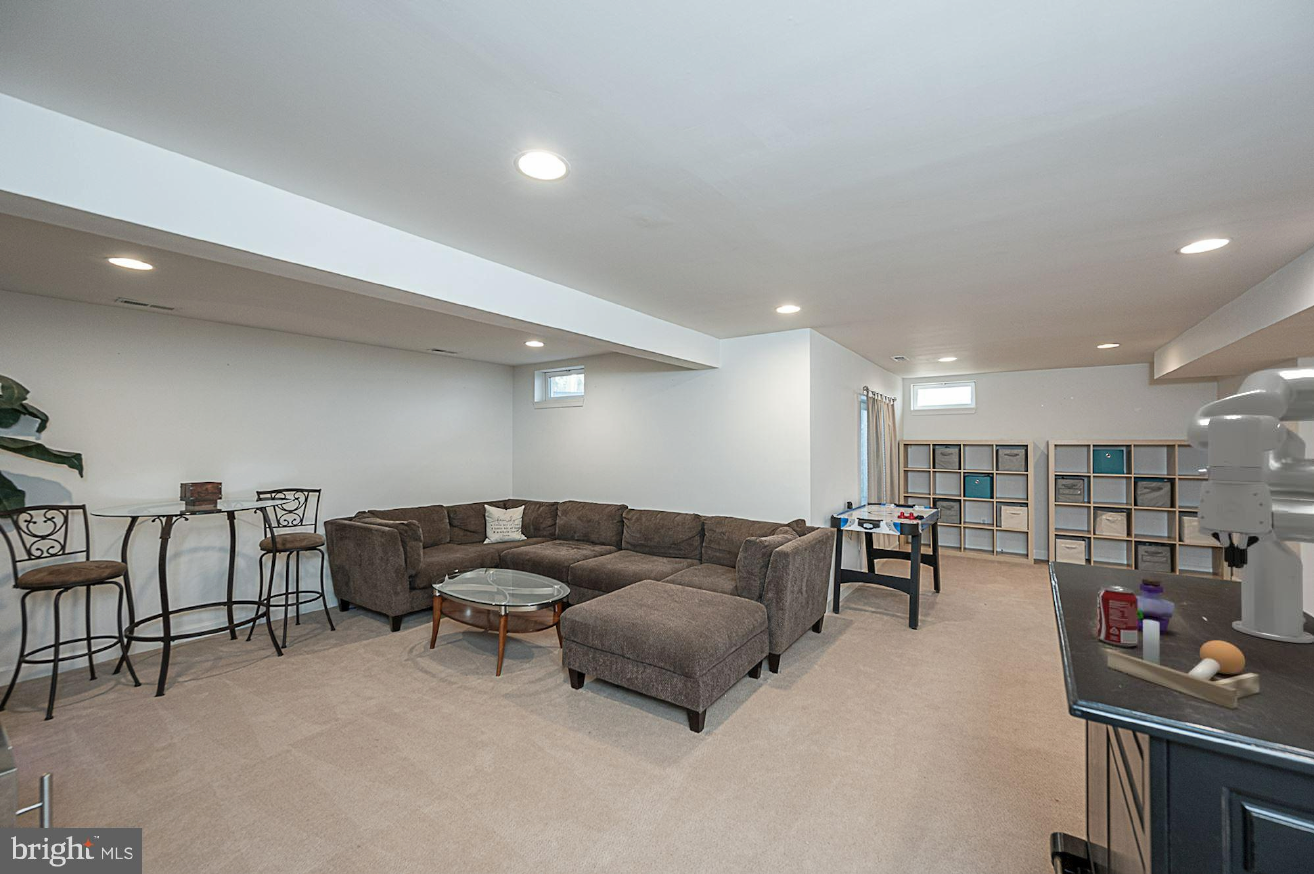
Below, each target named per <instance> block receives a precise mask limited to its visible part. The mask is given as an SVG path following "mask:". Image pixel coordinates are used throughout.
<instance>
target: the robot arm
mask: <svg viewBox="0 0 1314 874" xmlns="http://www.w3.org/2000/svg"><path fill="white" fill-rule="evenodd" d="M1283 422H1314V365H1309V366H1297V367H1284V368H1270V369H1269V368H1268V369H1265V370H1258V371H1256V372H1254V373H1251V374H1250V375H1248V376H1247V377H1246V378H1245V379H1244V381H1243V382H1242V384H1241V385H1240V387H1239V388H1238V390H1237V392H1236V393H1235V394H1233V395H1230V396H1228V397H1224V398H1221V399H1219V400H1216V401H1213V402H1209V403H1208V404H1205V405H1203V406H1201V407H1200V408H1199V409H1197V411H1196V412H1195V413H1194V415H1193V416H1192V418H1191V419H1190V421H1189V423H1188V426H1187V430H1186V439H1187V441H1188V443H1189V445H1190V446H1191V447H1192V448H1193V449H1195V450H1198V451H1205V452H1208V455H1207V456H1208V461H1207V462H1208V464H1207V465H1208V466H1207V467H1206V468H1204V469H1199V470H1198V475H1199V476H1203V477H1206V479H1207V480H1208V481H1202V483H1201V487H1200V492H1199V498H1198V508H1197V526H1198V531H1197V532H1198V534H1201V535H1203V536H1207V537H1211V538H1213V539H1214V540H1216V541H1217V542H1218V543H1219V544H1220V545H1221V546H1222V547H1223V561H1224V562H1225V563H1227V567H1228V568H1235V569H1238V570H1239V569H1240V572H1241V573H1240V575H1241V578H1240V579H1241V586H1240V587H1241V589H1240V590H1241V620H1236V621H1232V622H1231V623H1232V625H1231V626H1232V628H1233V629H1234V630H1236V631H1237V632H1241V633H1244V634H1246V635H1250V636H1254V637H1258V638H1263V639H1267V640H1273V641H1277V642H1278V641H1279V642H1286V643H1295V644H1310V643H1314V635H1313V634H1311V633H1310V632H1307V631H1304V624H1305V623H1306V622H1307V619H1306V617H1304V596H1303V595H1304V592H1303V591H1304V590H1303V589H1304V586H1303V585H1304V584H1303V582H1304V580H1303V578H1304V576H1303V574H1304V573H1303V571H1304V568H1303V567H1304V566H1303V562H1302V559H1301V558H1300V556H1299V555H1298V553H1296V551H1295V550H1293V549H1292V548H1291V547H1290V546H1289V545H1288V544H1287V543H1286V542H1294V543H1295V542H1297V543H1305V544H1306V543H1307V544H1314V458H1305V456H1306V447H1307V446H1306V445H1307V444H1306V442H1305V441H1304V439H1303V438H1302V437H1301V436H1299V435H1298V434H1297V433H1296V432H1295V431H1293V430H1291V429H1290V428H1288V427H1286V425H1285V423H1283ZM1232 533H1233V534H1238V535H1239V537H1238V541H1237V544H1236V543H1234V538H1233V534H1232Z"/></svg>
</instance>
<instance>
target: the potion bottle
mask: <svg viewBox="0 0 1314 874" xmlns="http://www.w3.org/2000/svg"><path fill="white" fill-rule="evenodd" d="M1161 582H1162V581H1161V580H1158V579H1153V578H1144V577H1143V578H1142V579H1141V582H1139V590H1141V591H1143V594H1142V595H1135V596H1136V598H1137V599H1138V631H1142V632H1143V620H1153V621H1157V622H1159V635H1166V634H1167V635H1168V632H1167V630H1168V627H1169V624H1170V619H1172V618H1173V614H1174V610H1175V607H1176V605H1175V603H1174V602H1172V601H1169V600H1167V599H1163V598H1160V593H1161V594H1163V593H1164V586H1163V585H1161Z"/></svg>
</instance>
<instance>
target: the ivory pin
mask: <svg viewBox="0 0 1314 874" xmlns="http://www.w3.org/2000/svg"><path fill="white" fill-rule="evenodd" d="M1219 669H1220V665H1219V664H1218V663H1217V662H1216V661H1215V660H1213V659H1210V658H1206V659H1204V660H1202V659H1201V661H1200V662H1199V663H1198V664H1197V665H1196V666H1195V667H1193V668H1192V669H1191V671H1190V670H1189V671H1190V672H1189V673H1188V672H1187V674H1189V675H1193V676H1196V677H1199V678H1202V679H1205V680H1209V679H1210V678H1211V677H1212V676H1214V675H1216V674H1217V673H1218V671H1219Z"/></svg>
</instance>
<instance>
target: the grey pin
mask: <svg viewBox="0 0 1314 874" xmlns="http://www.w3.org/2000/svg"><path fill="white" fill-rule="evenodd" d="M1160 649H1161V648H1160V634H1159V622H1157V621H1153V620H1143V631H1142V660H1144V661H1148V662H1151V663H1154V664H1157V665H1160V658H1161V656H1160V655H1161V653H1160V652H1161V650H1160ZM1160 666H1161V665H1160Z"/></svg>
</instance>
